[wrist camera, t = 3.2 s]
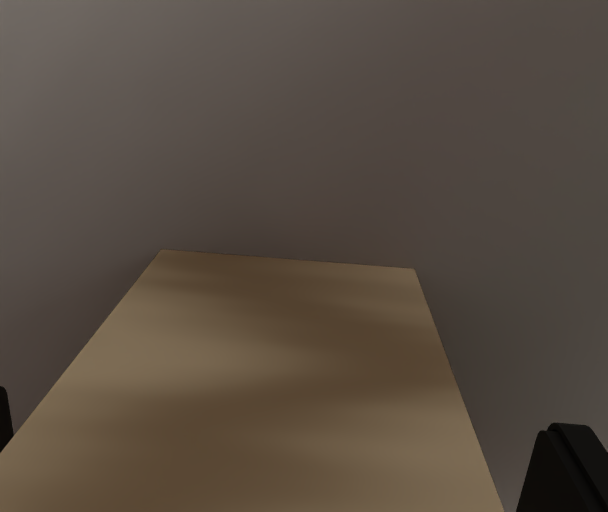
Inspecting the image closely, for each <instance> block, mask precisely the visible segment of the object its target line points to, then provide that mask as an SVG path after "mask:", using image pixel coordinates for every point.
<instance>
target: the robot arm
mask: <svg viewBox="0 0 608 512" xmlns="http://www.w3.org/2000/svg"><path fill="white" fill-rule="evenodd" d="M13 436H14V434H13V428H12V422H11V415H10V409H9V403H8V396H7V392H6V389H5V388H4V387H1V386H0V453H1V452H2V450H3V449H4V448H5V447H6V445H7V444H8V443H9V441H10V440H11V439H12V438H13ZM516 512H608V453H607V451H606V450H605V448H604V447H603V445H602V444H601V442H600V441H599V439H598V438H597V436H596V435H595V433H594V432H593V431H592V429H591V428H590V427H588V426H586V425H576V424H564V423H552V424H551V425H550V426H549V427H548V429H547V431H544V430H542V431H540V432H539V433H538V435H537V438H536V441H535V445H534V449H533V452H532V456H531V460H530V463H529V467H528V470H527V474H526V478H525V481H524V485H523V488H522V492H521V496H520V499H519V503H518V506H517V510H516Z"/></svg>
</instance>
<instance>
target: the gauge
mask: <svg viewBox="0 0 608 512" xmlns="http://www.w3.org/2000/svg"><path fill="white" fill-rule="evenodd" d="M0 512H504V509H503V507H502V504H501V501H500V498H499V496H498V493H497V490H496V488H495V485H494V482H493V480H492V477H491V474H490V472H489V469H488V466H487V463H486V461H485V458H484V455H483V453H482V450H481V447H480V445H479V442H478V439H477V436H476V434H475V431H474V428H473V426H472V423H471V420H470V418H469V415H468V412H467V410H466V407H465V404H464V401H463V399H462V396H461V393H460V391H459V388H458V385H457V383H456V380H455V377H454V375H453V372H452V369H451V366H450V364H449V361H448V358H447V356H446V353H445V350H444V348H443V345H442V342H441V340H440V337H439V334H438V331H437V329H436V326H435V323H434V321H433V318H432V315H431V313H430V310H429V307H428V305H427V302H426V299H425V296H424V294H423V291H422V288H421V286H420V283H419V280H418V278H417V275H416V272H415V270H414V269H410V268H397V267H385V266H372V265H359V264H346V263H333V262H321V261H308V260H295V259H282V258H269V257H257V256H244V255H231V254H218V253H205V252H193V251H180V250H167V249H161V250H160V251H159V253H158V254H157V255H156V256H155V258H154V259H153V260H152V262H151V263H150V264H149V265H148V267H147V268H146V269H145V270H144V272H143V273H142V274H141V275H140V277H139V278H138V279H137V281H136V282H135V283H134V284H133V286H132V287H131V288H130V289H129V291H128V292H127V293H126V294H125V296H124V297H123V298H122V300H121V301H120V302H119V303H118V305H117V306H116V307H115V308H114V310H113V311H112V312H111V313H110V315H109V316H108V317H107V319H106V320H105V321H104V322H103V324H102V325H101V326H100V327H99V329H98V330H97V331H96V332H95V334H94V335H93V336H92V338H91V339H90V340H89V341H88V343H87V344H86V345H85V346H84V348H83V349H82V350H81V351H80V353H79V354H78V355H77V357H76V358H75V359H74V360H73V362H72V363H71V364H70V365H69V367H68V368H67V369H66V371H65V372H64V373H63V374H62V376H61V377H60V378H59V379H58V381H57V382H56V383H55V384H54V386H53V387H52V388H51V390H50V391H49V392H48V393H47V395H46V396H45V397H44V398H43V400H42V401H41V402H40V403H39V405H38V406H37V407H36V409H35V410H34V411H33V412H32V414H31V415H30V416H29V417H28V419H27V420H26V421H25V422H24V424H23V425H22V426H21V428H20V429H19V430H18V431H17V433H16V434H15V435H14V436H13V438H12V439H11V440H10V441H9V443H8V444H7V445H6V447H5V448H4V449H3V450H2V452H1V453H0Z"/></svg>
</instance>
